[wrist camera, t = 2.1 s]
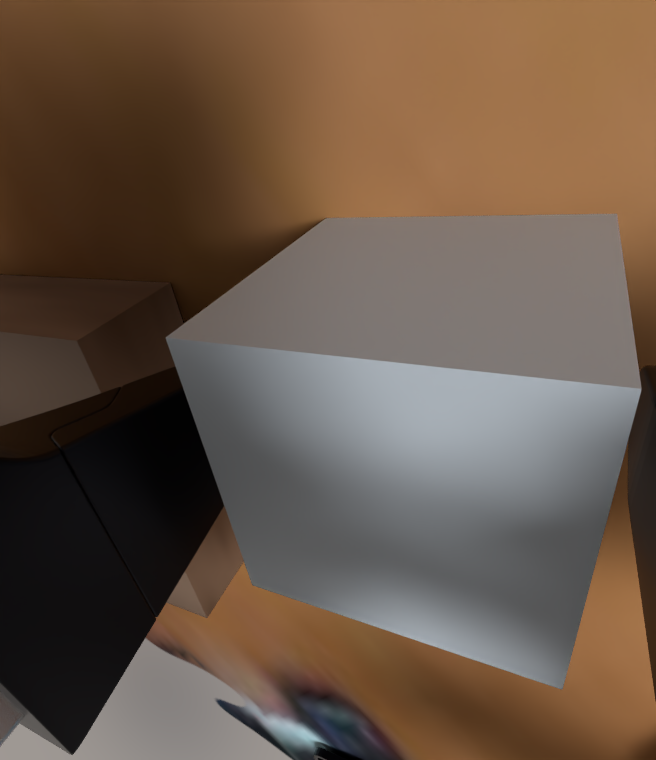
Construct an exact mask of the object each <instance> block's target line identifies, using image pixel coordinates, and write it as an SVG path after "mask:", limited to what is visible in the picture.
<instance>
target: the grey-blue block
mask: <svg viewBox="0 0 656 760" xmlns="http://www.w3.org/2000/svg"><path fill="white" fill-rule="evenodd" d="M166 341H167V344H168V346H169V349H170V352H171V355H172V358H173V361H174V364H175V366H176V369H177V372H178V375H179V378H180V381H181V383H182V386H183V389H184V392H185V395H186V398H187V401H188V403H189V406H190V409H191V412H192V415H193V418H194V420H195V423H196V426H197V429H198V432H199V435H200V438H201V440H202V443H203V446H204V449H205V452H206V455H207V457H208V460H209V463H210V466H211V469H212V472H213V475H214V477H215V480H216V483H217V486H218V489H219V492H220V494H221V497H222V500H223V503H224V506H225V509H226V511H227V514H228V517H229V520H230V523H231V526H232V529H233V531H234V534H235V537H236V540H237V543H238V546H239V548H240V551H241V554H242V557H243V560H244V563H245V566H246V568H247V571H248V574H249V577H250V580H251V583H252V585H254V586H256V587H259V588H262V589H265V590H268V591H271V592H274V593H277V594H280V595H283V596H286V597H289V598H292V599H295V600H298V601H301V602H304V603H307V604H310V605H313V606H316V607H319V608H322V609H325V610H328V611H331V612H334V613H337V614H339V615H342V616H345V617H348V618H351V619H354V620H357V621H360V622H363V623H366V624H369V625H372V626H375V627H378V628H381V629H384V630H387V631H390V632H393V633H396V634H399V635H402V636H405V637H408V638H411V639H414V640H417V641H420V642H422V643H425V644H428V645H431V646H434V647H437V648H440V649H443V650H446V651H449V652H452V653H455V654H458V655H461V656H464V657H467V658H470V659H473V660H476V661H479V662H482V663H485V664H488V665H491V666H494V667H497V668H500V669H502V670H505V671H508V672H511V673H514V674H517V675H520V676H523V677H526V678H529V679H532V680H535V681H538V682H541V683H544V684H547V685H550V686H553V687H556V688H559V689H563V685H564V681H565V678H566V674H567V670H568V666H569V663H570V659H571V655H572V651H573V647H574V644H575V640H576V636H577V632H578V628H579V625H580V621H581V617H582V613H583V609H584V606H585V602H586V598H587V594H588V590H589V587H590V583H591V579H592V575H593V571H594V568H595V564H596V560H597V556H598V553H599V549H600V545H601V541H602V537H603V534H604V530H605V526H606V522H607V518H608V515H609V511H610V507H611V503H612V499H613V496H614V492H615V488H616V484H617V480H618V477H619V473H620V469H621V465H622V462H623V458H624V454H625V450H626V446H627V443H628V439H629V435H630V431H631V427H632V424H633V420H634V416H635V412H636V408H637V405H638V401H639V397H640V393H641V389H642V388H641V381H640V374H639V367H638V360H637V353H636V346H635V338H634V331H633V324H632V317H631V310H630V303H629V296H628V289H627V282H626V275H625V268H624V261H623V253H622V246H621V239H620V232H619V225H618V218H617V214H568V215H501V216H433V217H365V218H326V219H324V220H323V221H321V222H320V223H319V224H317V225H316V226H315V227H313V228H312V229H311V230H309V231H308V232H307V233H305V234H304V235H303V236H301V237H300V238H299V239H297V240H296V241H295V242H293V243H292V244H291V245H289V246H288V247H287V248H285V249H284V250H283V251H281V252H280V253H278V254H277V255H276V256H274V257H273V258H272V259H270V260H269V261H268V262H266V263H265V264H264V265H262V266H261V267H260V268H258V269H257V270H256V271H254V272H253V273H252V274H250V275H249V276H248V277H246V278H245V279H244V280H242V281H241V282H240V283H238V284H237V285H235V286H234V287H233V288H231V289H230V290H229V291H227V292H226V293H225V294H223V295H222V296H221V297H219V298H218V299H217V300H215V301H214V302H213V303H211V304H210V305H209V306H207V307H206V308H205V309H203V310H202V311H201V312H199V313H198V314H197V315H195V316H194V317H193V318H191V319H190V320H188V321H187V322H186V323H184V324H183V325H182V326H180V327H179V328H178V329H176V330H175V331H174V332H172V333H171V334H170V335H168V336H167V337H166Z"/></svg>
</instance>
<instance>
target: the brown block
mask: <svg viewBox="0 0 656 760" xmlns="http://www.w3.org/2000/svg"><path fill="white" fill-rule="evenodd" d="M182 325H183V320H182V317H181V314H180V311H179V308H178V305H177V302H176V299H175V296H174V293H173V290H172V287H171V284H170V283H167V282H146V281H124V280H103V279H82V278H60V277H39V276H18V275H0V426H2V425H6V424H9V423H12V422H15V421H18V420H21V419H25V418H28V417H31V416H34V415H37V414H40V413H44V412H47V411H50V410H53V409H56V408H59V407H62V406H65V405H68V404H71V403H74V402H77V401H80V400H83V399H86V398H89V397H92V396H94V395H97V394H100V393H103V392H106V391H108V390H111V389H114V388H117V387H122V386H123V385H125V384H128V383H131V382H133V381H136V380H139V379H141V378H144V377H147V376H150V375H152V374H155V373H158V372H161V371H163V370H166V369H169V368H172V367H174V366H175V364H174V361H173V358H172V355H171V352H170V349H169V346H168V344H167V341H166V337H167V336H168V335H170V334H171V333H172V332H174V331H175V330H176V329H178V328H179V327H180V326H182ZM243 562H244V560H243V557H242V554H241V551H240V548H239V546H238V543H237V540H236V537H235V534H234V531H233V529H232V526H231V523H230V520H229V517H228V514H227V511H226V509H225V506H224V508H223V509H222V511H221V513H220V514H219V516H218V518H217V519H216V521H215V523H214V524H213V526H212V528H211V529H210V531H209V533H208V534H207V536H206V538H205V539H204V541H203V542H202V544H201V546H200V547H199V549H198V551H197V552H196V554H195V556H194V557H193V559H192V561H191V562H190V564H189V566H188V567H187V569H186V571H185V572H184V574H183V576H182V577H181V579H180V581H179V582H178V584H177V585H176V587H175V589H174V590H173V592H172V594H171V595H170V597H169V599H168V600H167V603H169V604H172V605H175V606H177V607H180V608H182V609H185V610H187V611H190V612H193V613H195V614H198V615H200V616H203V617H205V618H208V616H209V615H210V613H211V611H212V610H213V608H214V607H215V605H216V604H217V602H218V601H219V599H220V597H221V596H222V594H223V593H224V591H225V590H226V588H227V587H228V585H229V583H230V582H231V580H232V579H233V577H234V576H235V574H236V573H237V571H238V569H239V568H240V566H241V565H242V563H243Z"/></svg>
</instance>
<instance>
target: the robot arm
mask: <svg viewBox="0 0 656 760" xmlns="http://www.w3.org/2000/svg"><path fill="white" fill-rule="evenodd" d="M639 374H640V381H641V388H642V389H641V393H640V397H639V401H638V405H637V408H636V412H635V416H634V420H633V424H632V427H631V431H630V435H629V440H628V504H629V513H630V521H631V528H632V535H633V542H634V549H635V556H636V564H637V571H638V578H639V585H640V592H641V599H642V607H643V614H644V621H645V628H646V635H647V642H648V650H649V657H650V664H651V671H652V678H653V686H654V693H655V700H656V366H644V367H643V368H642V369H641V370H640V373H639ZM223 508H224V503H223V500H222V497H221V494H220V492H219V489H218V486H217V483H216V480H215V477H214V475H213V472H212V469H211V466H210V463H209V460H208V457H207V455H206V452H205V449H204V446H203V443H202V440H201V438H200V435H199V432H198V429H197V426H196V423H195V420H194V418H193V415H192V412H191V409H190V406H189V403H188V401H187V398H186V395H185V392H184V389H183V386H182V383H181V381H180V378H179V375H178V372H177V369H176V366H174V367H172V368H169V369H166V370H163V371H161V372H158V373H155V374H152V375H150V376H147V377H144V378H141V379H139V380H136V381H133V382H131V383H128V384H125V385H123V386H122V387H117V388H114V389H111V390H108V391H106V392H103V393H100V394H97V395H94V396H92V397H89V398H86V399H83V400H80V401H77V402H74V403H71V404H68V405H65V406H62V407H59V408H56V409H53V410H50V411H47V412H44V413H40V414H37V415H34V416H31V417H28V418H25V419H21V420H18V421H15V422H12V423H9V424H6V425H2V426H0V747H1V745H2V744H3V743H4V742H5V740H6V739H7V738H8V736H10V734H11V733H12V732H13V730H14V729H15V728H16V727H17V726H18V724H19V723H20V724H22V725H23V726H25V727H27V728H28V729H30V730H32V731H33V732H35V733H36V734H38V735H40V736H41V737H43V738H44V739H46V740H48V741H49V742H51V743H53V744H54V745H56V746H58V747H59V748H61V749H62V750H64V751H66V752H67V753H69V754H71V755H73V754H74V753H75V751H76V750H77V749H78V747H79V746H80V744H81V743H82V741H83V740H84V738H85V737H86V735H87V733H88V732H89V730H90V728H91V726H92V725H93V723H94V722H95V720H96V718H97V717H98V715H99V713H100V712H101V710H102V708H103V707H104V705H105V703H106V702H107V700H108V698H109V697H110V695H111V694H112V692H113V690H114V688H115V687H116V685H117V684H118V682H119V680H120V679H121V677H122V675H123V674H124V672H125V670H126V669H127V667H128V665H129V664H130V662H131V660H132V659H133V657H134V655H135V654H136V652H137V650H138V649H139V647H140V646H141V644H142V642H143V641H144V639H145V637H146V636H147V634H148V632H149V631H150V629H151V627H152V626H153V624H154V622H155V621H156V618H155V617H158V615H159V614H160V612H161V610H162V609H163V607H164V605H165V604H166V602H167V600H168V599H169V597H170V595H171V594H172V592H173V590H174V589H175V587H176V585H177V584H178V582H179V581H180V579H181V577H182V576H183V574H184V572H185V571H186V569H187V567H188V566H189V564H190V562H191V561H192V559H193V557H194V556H195V554H196V552H197V551H198V549H199V547H200V546H201V544H202V542H203V541H204V539H205V538H206V536H207V534H208V533H209V531H210V529H211V528H212V526H213V524H214V523H215V521H216V519H217V518H218V516H219V514H220V513H221V511H222V509H223ZM314 759H315V760H347V759H345V758H343V757H340V756H338V755H336V754H334V753H332V752H330V751H328V750H325V749H323V748H320V747H317V749H316V751H315V754H314Z"/></svg>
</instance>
